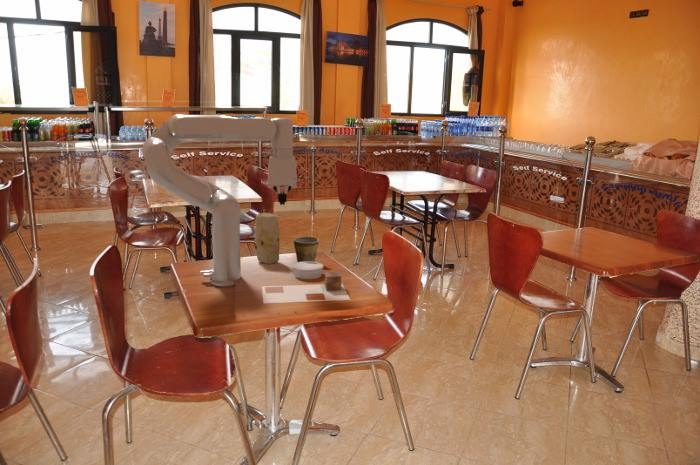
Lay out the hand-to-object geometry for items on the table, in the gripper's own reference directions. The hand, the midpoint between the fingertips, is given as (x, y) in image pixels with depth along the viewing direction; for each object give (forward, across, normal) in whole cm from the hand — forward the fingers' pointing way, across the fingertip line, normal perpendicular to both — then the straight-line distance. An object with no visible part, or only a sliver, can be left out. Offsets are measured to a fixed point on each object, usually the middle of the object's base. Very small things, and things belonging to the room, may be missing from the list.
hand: (282, 204), depth 205 cm
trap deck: (+27, +6, -24) cm, 37 cm away
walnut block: (+26, +16, -20) cm, 36 cm away
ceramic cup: (+27, +10, +15) cm, 33 cm away
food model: (+27, -5, +17) cm, 33 cm away
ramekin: (+27, +9, -5) cm, 29 cm away
